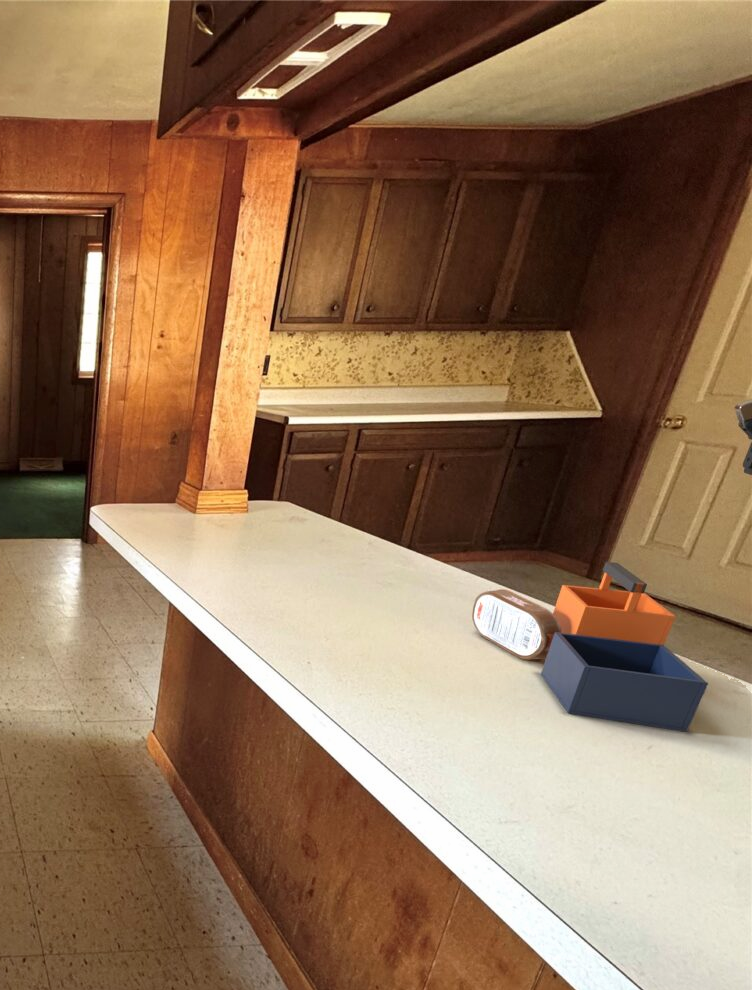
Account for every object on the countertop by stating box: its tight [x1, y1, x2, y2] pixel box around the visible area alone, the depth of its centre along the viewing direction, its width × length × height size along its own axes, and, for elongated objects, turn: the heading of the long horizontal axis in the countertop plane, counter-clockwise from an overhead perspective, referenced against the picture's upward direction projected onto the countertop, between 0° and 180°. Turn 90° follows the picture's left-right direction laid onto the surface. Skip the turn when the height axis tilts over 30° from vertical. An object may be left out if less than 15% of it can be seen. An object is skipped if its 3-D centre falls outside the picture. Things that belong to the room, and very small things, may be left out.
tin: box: [471, 588, 562, 661], centre depth 105 cm, size 15×3×8 cm, turn 179°
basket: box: [552, 561, 676, 646], centre depth 98 cm, size 10×10×15 cm
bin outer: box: [540, 632, 709, 733], centre depth 89 cm, size 12×12×7 cm
